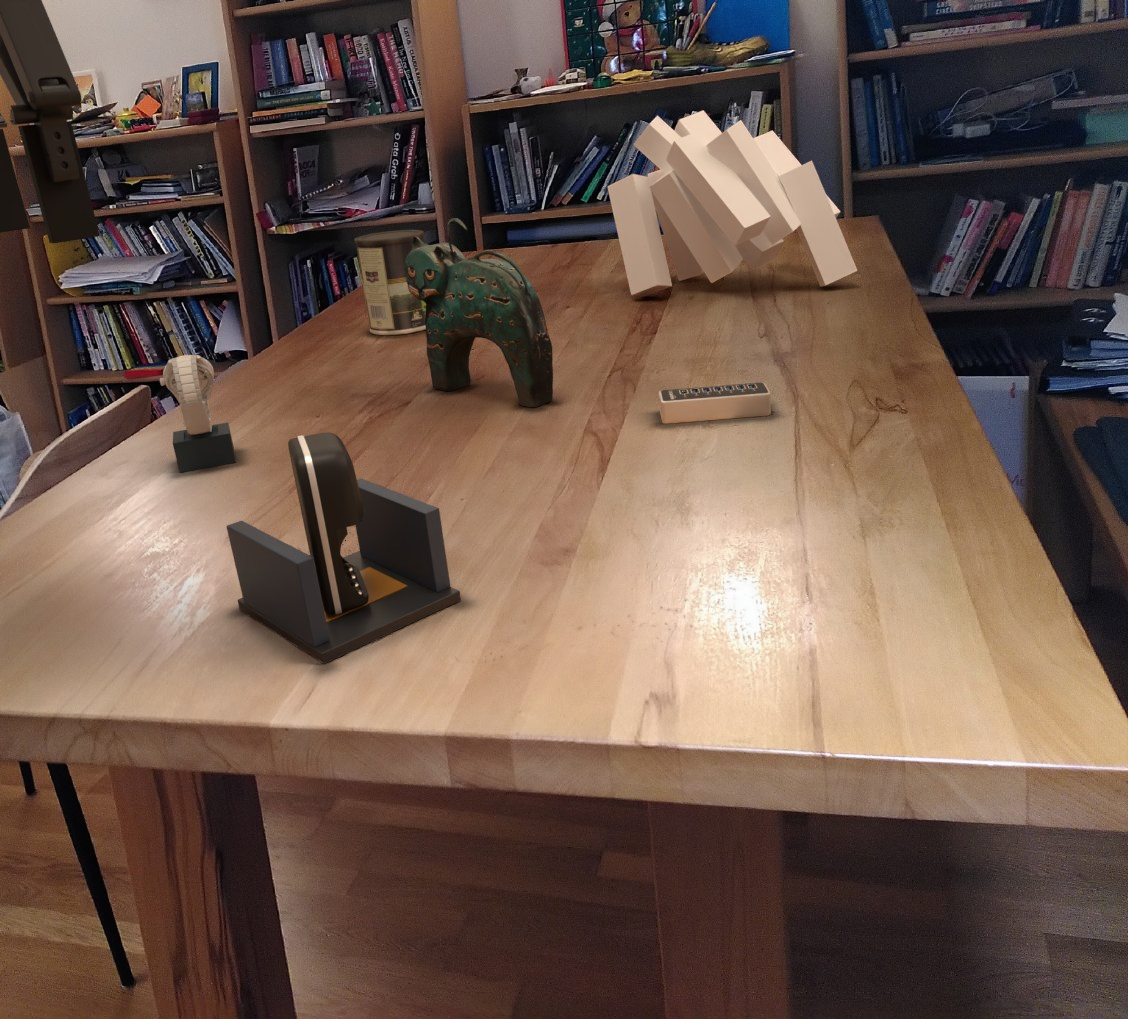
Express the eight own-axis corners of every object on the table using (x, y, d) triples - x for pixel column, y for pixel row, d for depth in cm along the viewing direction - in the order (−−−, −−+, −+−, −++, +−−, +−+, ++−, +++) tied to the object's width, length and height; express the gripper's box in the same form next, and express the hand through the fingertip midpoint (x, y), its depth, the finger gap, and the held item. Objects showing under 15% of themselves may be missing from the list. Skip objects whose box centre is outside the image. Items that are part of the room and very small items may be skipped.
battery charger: (383, 608, 71) (355, 449, 66) (326, 621, 70) (294, 461, 65) (366, 569, 77) (340, 421, 73) (314, 580, 76) (284, 431, 72)
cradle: (238, 609, 75) (218, 522, 72) (369, 556, 81) (354, 475, 79) (323, 664, 66) (304, 568, 64) (461, 600, 73) (448, 511, 70)
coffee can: (443, 318, 165) (431, 227, 159) (425, 333, 155) (412, 237, 150) (381, 322, 167) (367, 231, 161) (360, 337, 157) (344, 242, 152)
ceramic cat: (416, 389, 126) (391, 219, 119) (457, 376, 130) (436, 211, 123) (529, 413, 113) (509, 223, 105) (570, 397, 117) (554, 214, 110)
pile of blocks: (843, 296, 178) (767, 108, 179) (887, 252, 149) (795, 26, 150) (653, 372, 180) (578, 185, 181) (659, 344, 150) (569, 121, 151)
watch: (233, 445, 112) (211, 344, 108) (236, 467, 105) (212, 360, 101) (179, 455, 110) (154, 353, 106) (178, 478, 103) (151, 370, 99)
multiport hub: (771, 415, 105) (771, 393, 104) (662, 423, 105) (661, 402, 104) (764, 402, 109) (764, 381, 108) (659, 411, 109) (658, 389, 109)
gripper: (76, -200, 52) (174, 233, 60) (-50, -105, 70) (38, 220, 78) (-90, -214, 48) (39, 255, 56) (-180, -109, 65) (-72, 236, 73)
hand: (39, 235), depth 67 cm, fingers open, 13 cm apart
